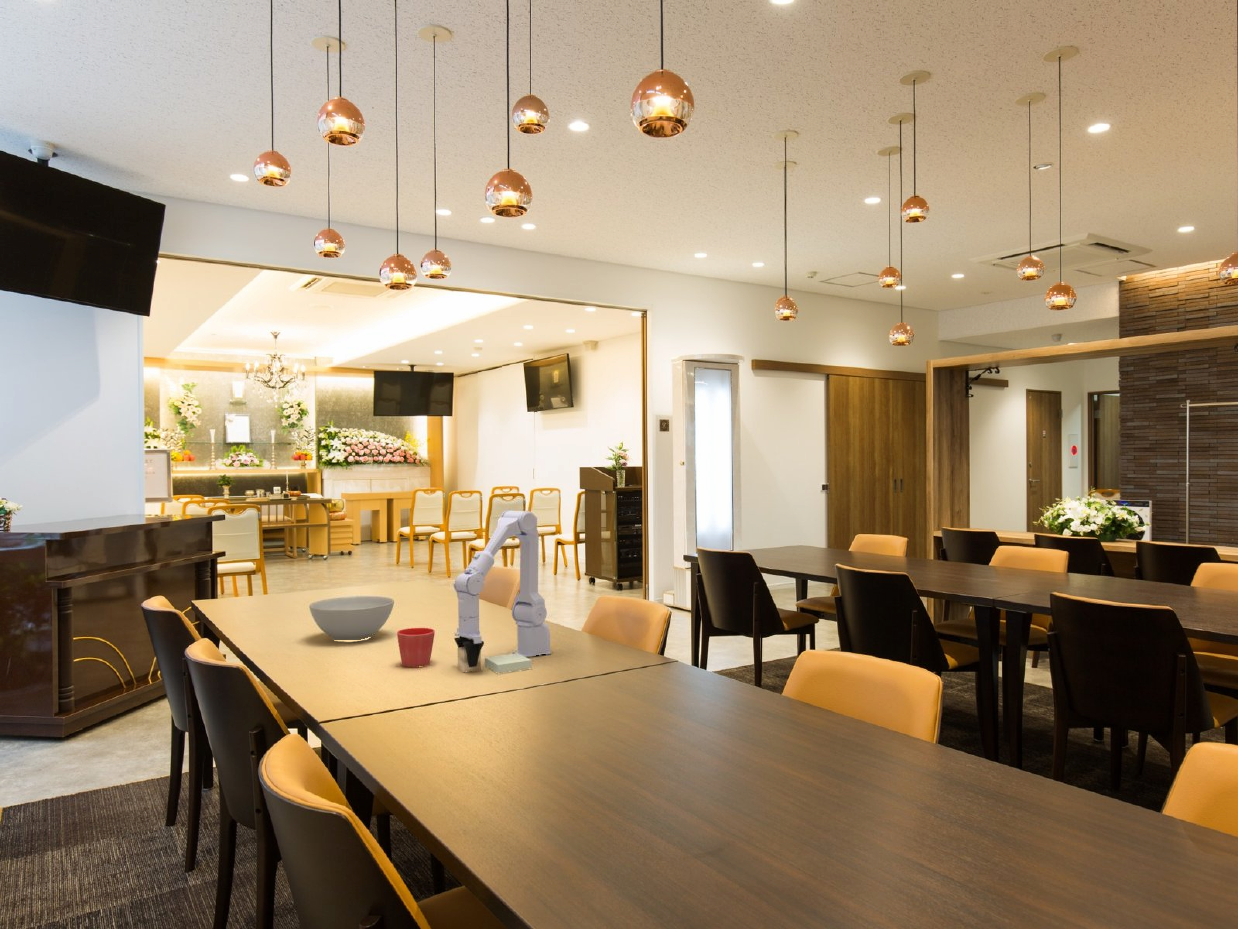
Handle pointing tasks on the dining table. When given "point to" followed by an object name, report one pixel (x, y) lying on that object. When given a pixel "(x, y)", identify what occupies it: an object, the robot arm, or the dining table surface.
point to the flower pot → (415, 646)
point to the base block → (507, 663)
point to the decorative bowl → (351, 616)
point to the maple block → (466, 661)
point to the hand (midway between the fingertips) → (469, 664)
